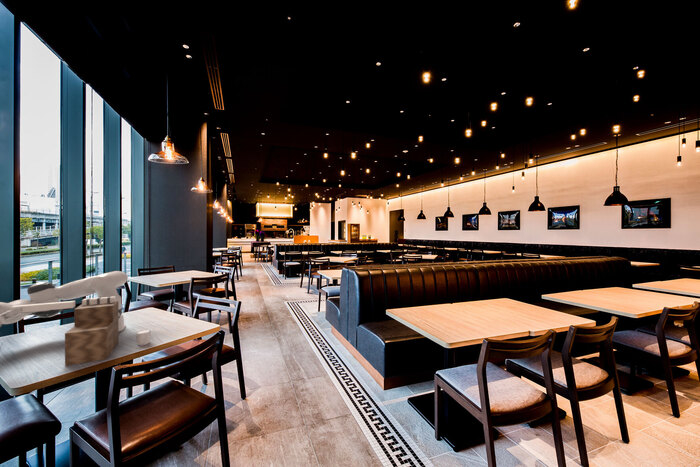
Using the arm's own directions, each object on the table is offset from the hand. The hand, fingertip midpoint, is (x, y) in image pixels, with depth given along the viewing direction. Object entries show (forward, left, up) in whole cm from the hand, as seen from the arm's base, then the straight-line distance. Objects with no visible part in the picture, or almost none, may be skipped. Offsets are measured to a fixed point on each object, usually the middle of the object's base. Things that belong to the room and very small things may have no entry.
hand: (23, 307), depth 136 cm
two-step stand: (+12, +22, -29) cm, 39 cm away
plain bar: (+5, +5, -2) cm, 7 cm away
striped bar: (+6, +28, -4) cm, 29 cm away
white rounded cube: (+24, +40, -30) cm, 55 cm away
